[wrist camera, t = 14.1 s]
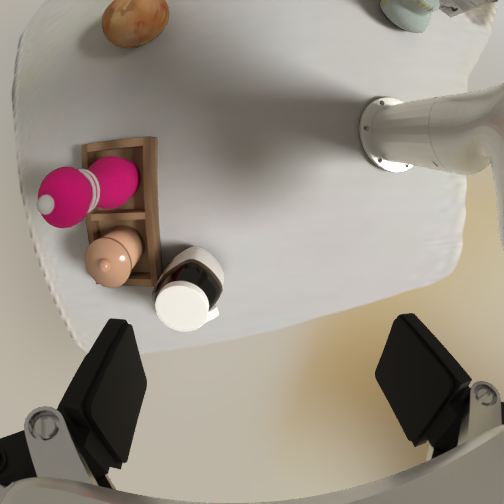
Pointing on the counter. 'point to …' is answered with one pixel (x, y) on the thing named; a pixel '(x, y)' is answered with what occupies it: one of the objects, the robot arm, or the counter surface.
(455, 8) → the coffee box
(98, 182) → the pepper mill
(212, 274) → the spread jar
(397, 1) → the air freshener
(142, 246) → the salt crock
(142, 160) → the caddy
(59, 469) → the robot arm
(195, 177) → the counter surface
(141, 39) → the onion
